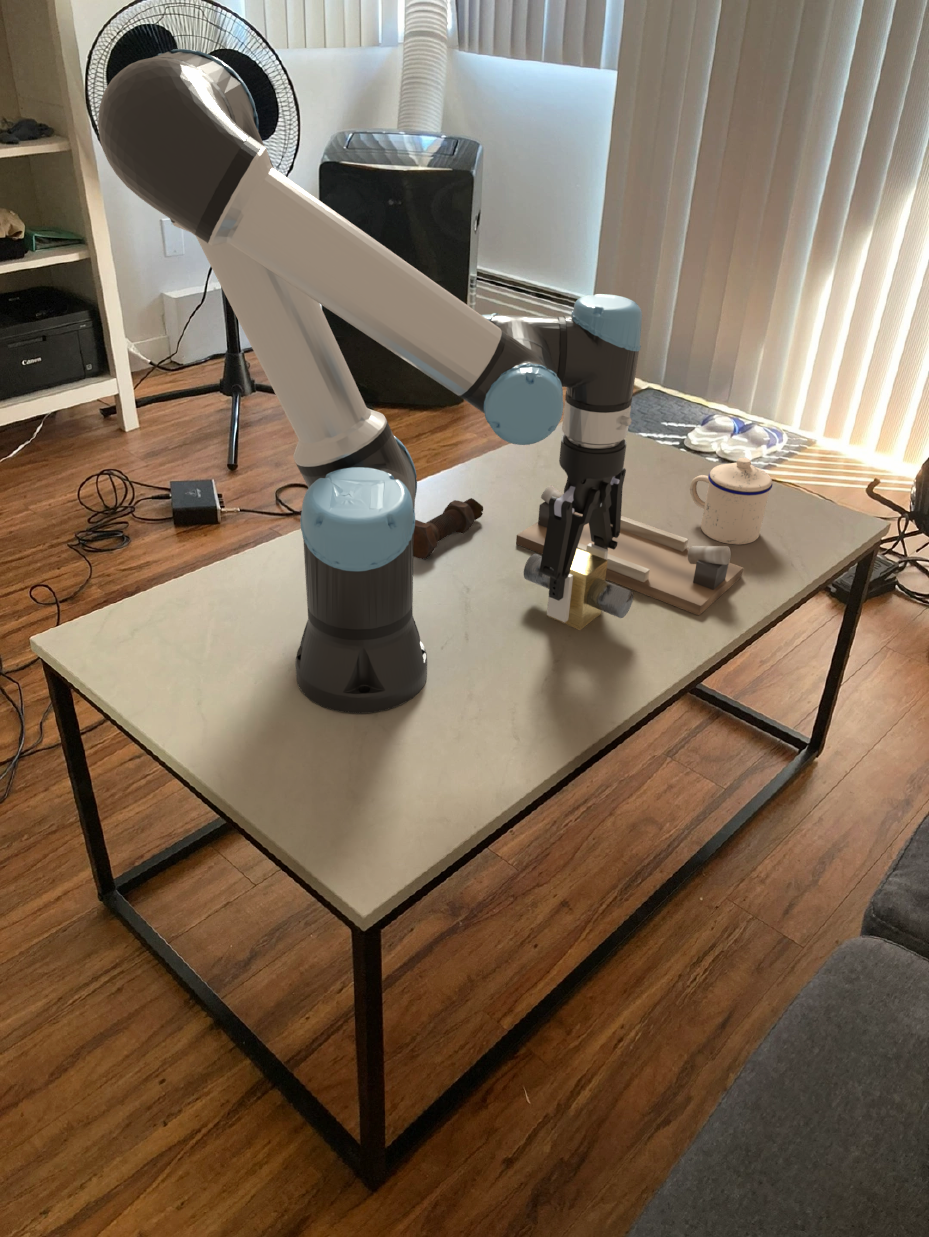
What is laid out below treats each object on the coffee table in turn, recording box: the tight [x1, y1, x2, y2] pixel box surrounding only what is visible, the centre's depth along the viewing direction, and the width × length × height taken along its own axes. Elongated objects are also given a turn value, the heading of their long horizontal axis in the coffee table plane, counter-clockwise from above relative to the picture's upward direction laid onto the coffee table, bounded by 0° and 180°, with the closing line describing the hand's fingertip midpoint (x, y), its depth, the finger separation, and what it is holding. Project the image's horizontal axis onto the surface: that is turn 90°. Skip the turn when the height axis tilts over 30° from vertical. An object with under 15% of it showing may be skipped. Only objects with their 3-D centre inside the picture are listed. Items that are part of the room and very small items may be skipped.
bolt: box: [413, 497, 484, 560], centre depth 142 cm, size 6×5×15 cm
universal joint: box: [523, 549, 634, 631], centre depth 125 cm, size 5×14×8 cm, turn 52°
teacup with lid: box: [689, 457, 773, 545], centre depth 145 cm, size 12×9×12 cm
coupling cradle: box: [515, 484, 744, 616], centre depth 137 cm, size 13×29×7 cm, turn 52°
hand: (575, 603), depth 126 cm, fingers open, 8 cm apart
